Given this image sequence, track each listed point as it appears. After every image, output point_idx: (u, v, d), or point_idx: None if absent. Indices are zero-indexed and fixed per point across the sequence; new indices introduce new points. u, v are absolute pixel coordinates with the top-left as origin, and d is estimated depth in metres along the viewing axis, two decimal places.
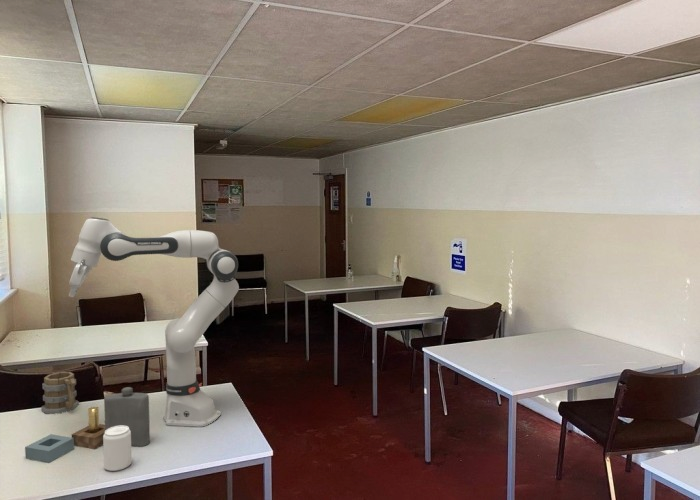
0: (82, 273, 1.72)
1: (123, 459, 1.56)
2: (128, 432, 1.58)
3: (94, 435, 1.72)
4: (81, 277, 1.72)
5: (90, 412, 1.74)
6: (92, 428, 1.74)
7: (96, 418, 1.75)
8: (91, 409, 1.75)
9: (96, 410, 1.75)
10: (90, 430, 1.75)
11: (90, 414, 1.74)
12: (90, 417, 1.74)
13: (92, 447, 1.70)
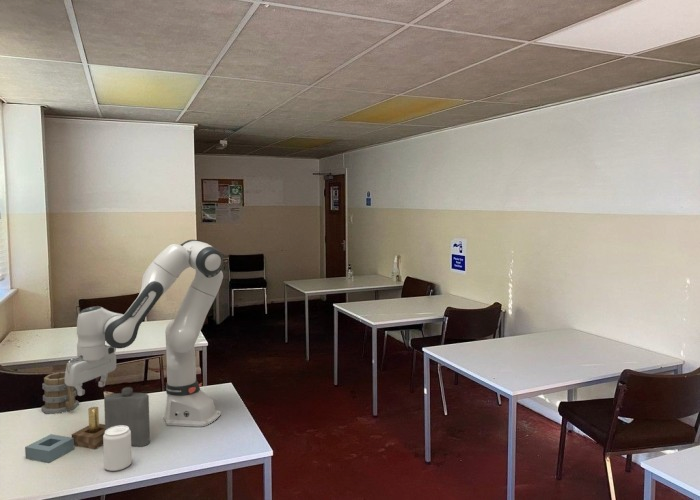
0: (71, 372, 1.65)
1: (123, 459, 1.56)
2: (128, 432, 1.58)
3: (94, 435, 1.72)
4: (71, 376, 1.65)
5: (90, 412, 1.74)
6: (92, 428, 1.74)
7: (96, 418, 1.75)
8: (91, 409, 1.75)
9: (96, 410, 1.75)
10: (90, 430, 1.75)
11: (90, 414, 1.74)
12: (90, 417, 1.74)
13: (92, 447, 1.70)
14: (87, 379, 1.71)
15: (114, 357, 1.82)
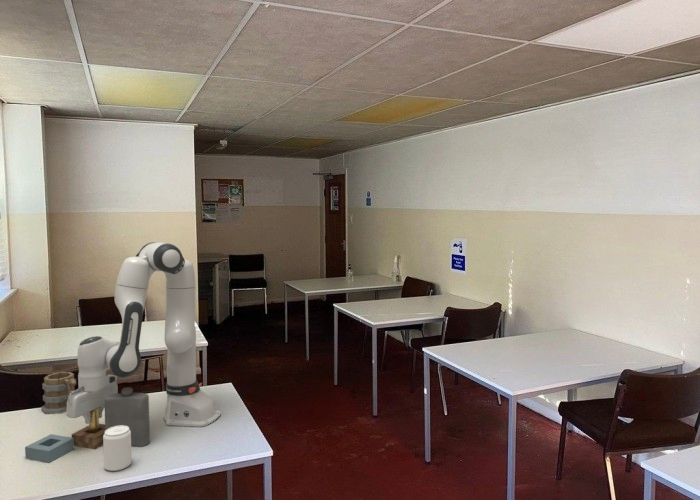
0: (73, 404, 1.66)
1: (123, 459, 1.56)
2: (128, 432, 1.58)
3: (94, 435, 1.72)
4: (73, 408, 1.66)
5: (90, 412, 1.74)
6: (92, 428, 1.74)
7: (96, 418, 1.75)
8: None
9: (96, 410, 1.75)
10: (90, 430, 1.75)
11: (90, 414, 1.74)
12: None
13: (92, 447, 1.70)
14: (89, 410, 1.72)
15: (115, 386, 1.83)
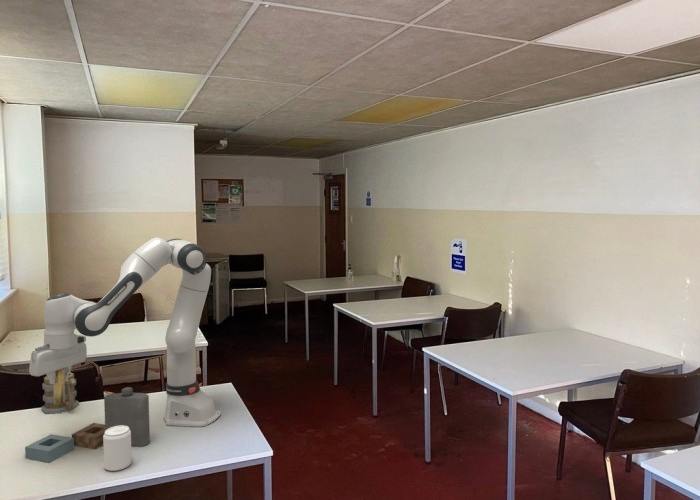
0: (36, 361, 1.57)
1: (123, 459, 1.56)
2: (128, 432, 1.58)
3: (94, 435, 1.72)
4: (36, 365, 1.57)
5: (55, 372, 1.66)
6: (56, 389, 1.66)
7: (62, 379, 1.67)
8: None
9: (62, 370, 1.67)
10: (55, 391, 1.66)
11: (55, 374, 1.66)
12: (55, 377, 1.66)
13: (92, 447, 1.70)
14: (54, 369, 1.63)
15: (84, 347, 1.74)
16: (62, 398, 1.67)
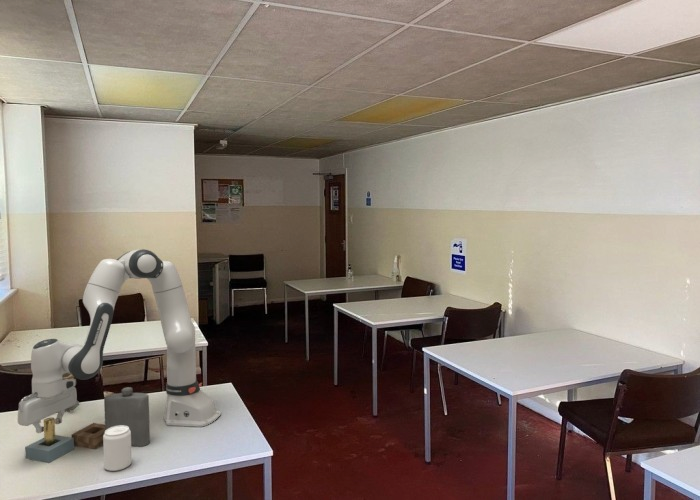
0: (24, 411, 1.56)
1: (123, 459, 1.56)
2: (128, 432, 1.58)
3: (94, 435, 1.72)
4: (24, 415, 1.56)
5: (45, 423, 1.65)
6: (47, 440, 1.65)
7: (52, 429, 1.66)
8: (46, 420, 1.65)
9: (52, 421, 1.66)
10: (45, 442, 1.65)
11: (45, 425, 1.65)
12: (45, 428, 1.65)
13: (92, 447, 1.70)
14: (43, 417, 1.62)
15: (74, 391, 1.73)
16: None
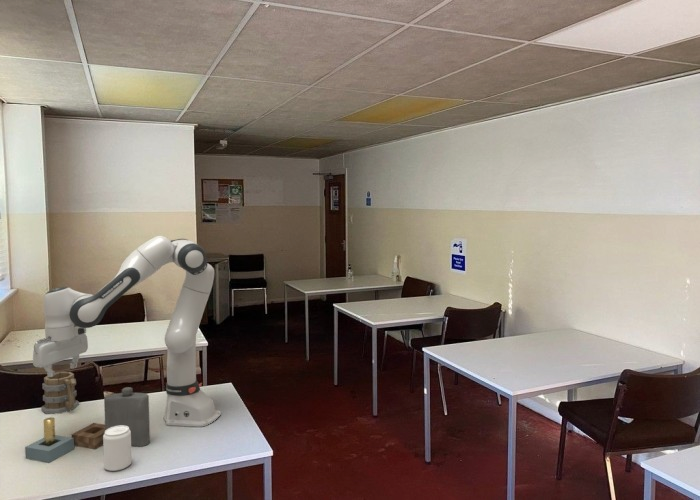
0: (39, 353, 1.63)
1: (123, 459, 1.56)
2: (128, 432, 1.58)
3: (94, 435, 1.72)
4: (39, 357, 1.62)
5: (45, 423, 1.65)
6: (47, 440, 1.65)
7: (52, 429, 1.66)
8: (46, 420, 1.65)
9: (52, 421, 1.66)
10: (45, 442, 1.65)
11: (45, 425, 1.65)
12: (45, 428, 1.65)
13: (92, 447, 1.70)
14: (57, 360, 1.68)
15: (85, 338, 1.80)
16: None
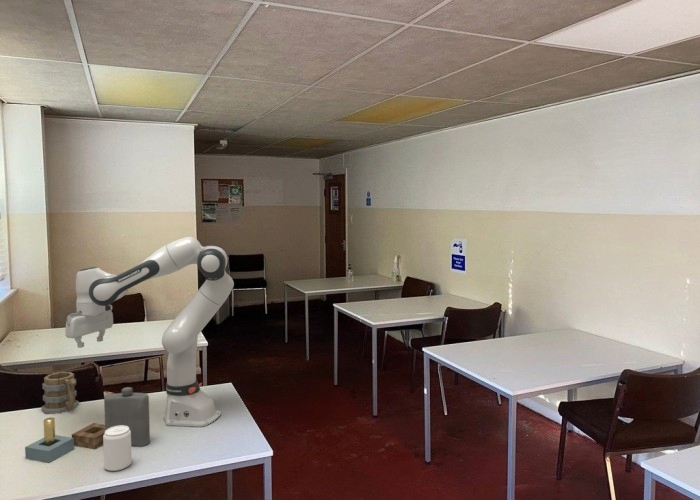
0: (71, 325, 1.80)
1: (123, 459, 1.56)
2: (128, 432, 1.58)
3: (94, 435, 1.72)
4: (71, 329, 1.80)
5: (45, 423, 1.65)
6: (47, 440, 1.65)
7: (52, 429, 1.66)
8: (46, 420, 1.65)
9: (52, 421, 1.66)
10: (45, 442, 1.65)
11: (45, 425, 1.65)
12: (45, 428, 1.65)
13: (92, 447, 1.70)
14: (86, 333, 1.86)
15: (111, 315, 1.97)
16: None
